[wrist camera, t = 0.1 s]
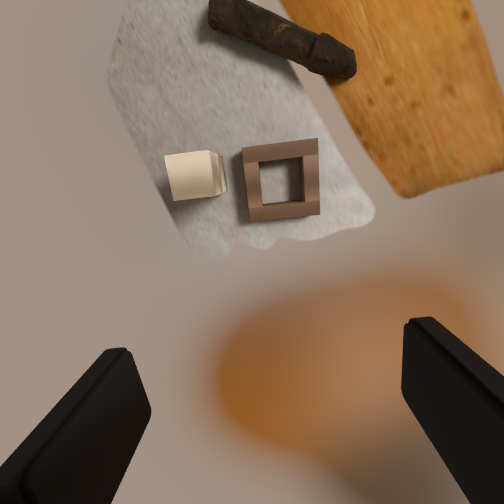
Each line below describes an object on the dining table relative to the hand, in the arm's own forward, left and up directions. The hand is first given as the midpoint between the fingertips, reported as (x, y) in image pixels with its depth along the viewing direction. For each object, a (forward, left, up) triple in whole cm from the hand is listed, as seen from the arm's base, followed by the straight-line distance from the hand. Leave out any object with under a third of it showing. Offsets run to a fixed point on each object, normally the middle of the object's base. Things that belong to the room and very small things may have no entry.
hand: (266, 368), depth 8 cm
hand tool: (-22, +5, -32) cm, 39 cm away
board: (-5, +3, -31) cm, 32 cm away
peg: (-7, -7, -31) cm, 33 cm away
